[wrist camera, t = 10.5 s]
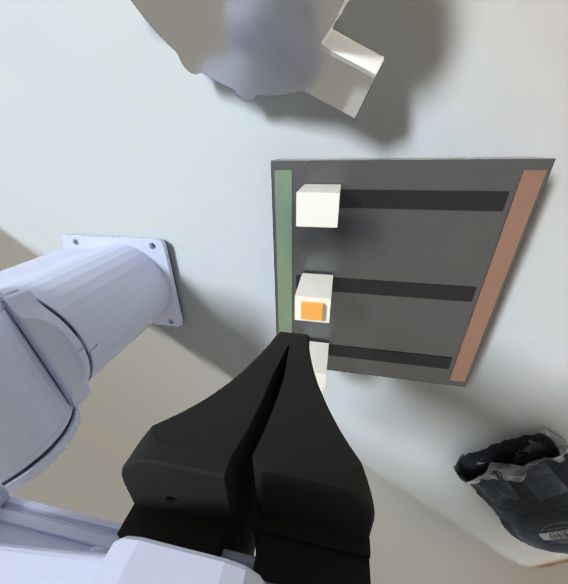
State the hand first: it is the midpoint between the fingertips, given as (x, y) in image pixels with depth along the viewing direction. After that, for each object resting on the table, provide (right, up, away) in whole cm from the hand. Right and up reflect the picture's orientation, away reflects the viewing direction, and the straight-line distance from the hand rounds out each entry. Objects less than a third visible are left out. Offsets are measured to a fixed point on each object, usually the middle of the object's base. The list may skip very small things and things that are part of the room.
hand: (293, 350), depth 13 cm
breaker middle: (+2, +3, +6) cm, 7 cm away
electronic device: (+23, -16, +14) cm, 31 cm away
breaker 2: (+2, -2, +8) cm, 9 cm away
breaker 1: (+2, +8, +3) cm, 9 cm away
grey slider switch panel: (+6, +4, +7) cm, 10 cm away
